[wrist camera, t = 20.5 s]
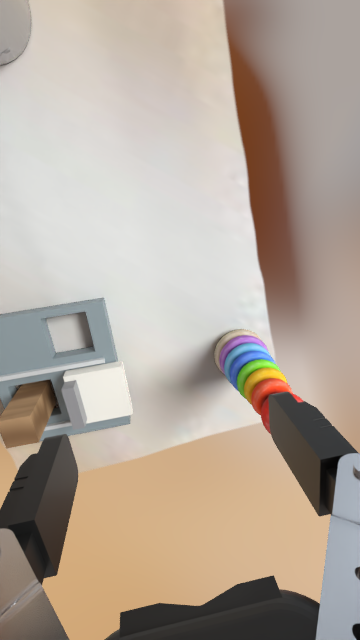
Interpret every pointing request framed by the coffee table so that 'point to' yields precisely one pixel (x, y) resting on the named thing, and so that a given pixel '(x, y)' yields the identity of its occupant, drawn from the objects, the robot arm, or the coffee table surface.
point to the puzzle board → (53, 357)
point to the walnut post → (27, 414)
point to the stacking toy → (251, 370)
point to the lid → (96, 394)
